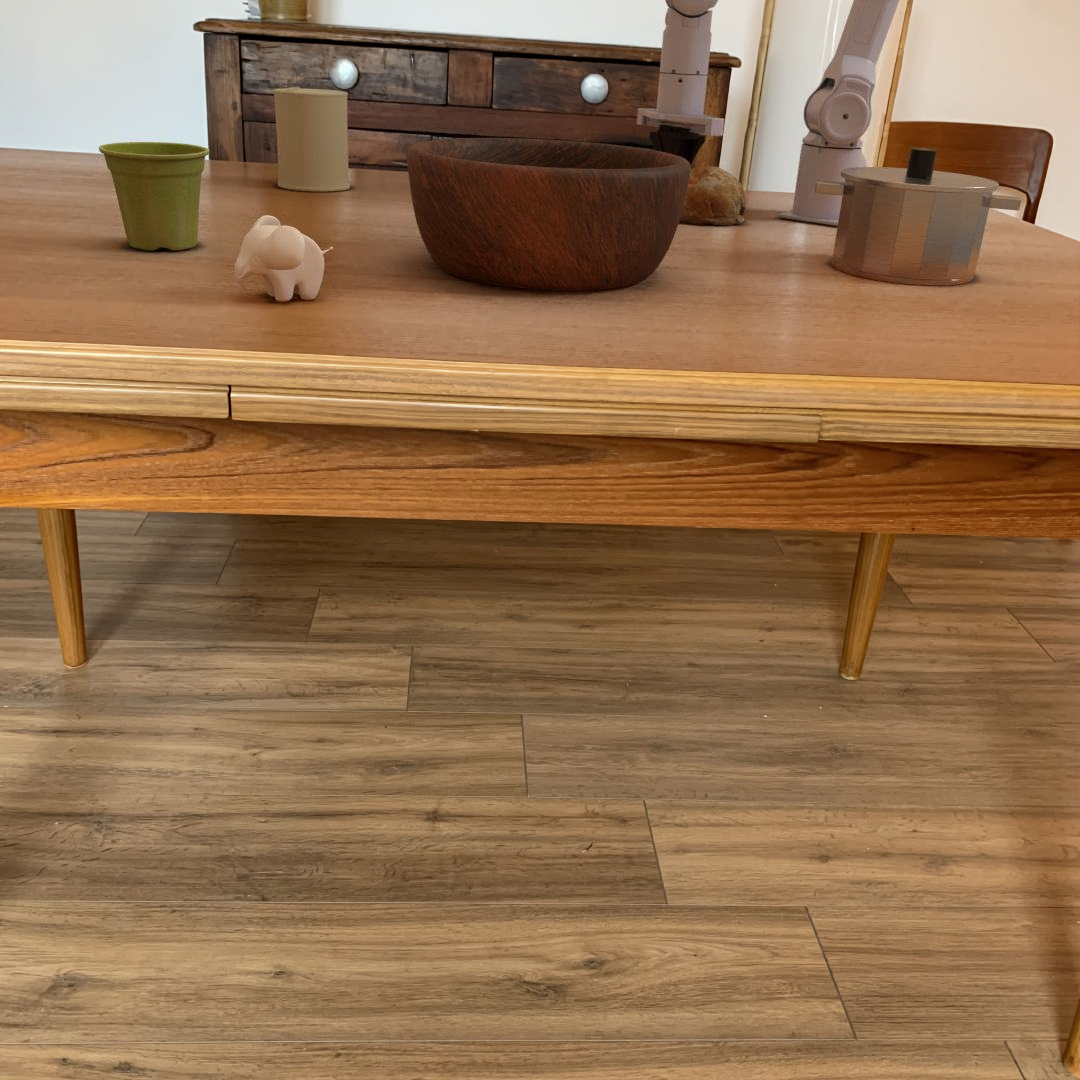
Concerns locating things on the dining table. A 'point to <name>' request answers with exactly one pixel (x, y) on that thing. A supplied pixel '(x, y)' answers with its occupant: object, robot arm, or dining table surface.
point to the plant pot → (157, 191)
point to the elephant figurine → (280, 260)
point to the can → (312, 139)
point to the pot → (910, 232)
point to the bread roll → (713, 198)
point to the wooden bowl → (546, 210)
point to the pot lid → (920, 176)
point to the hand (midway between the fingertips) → (672, 191)
